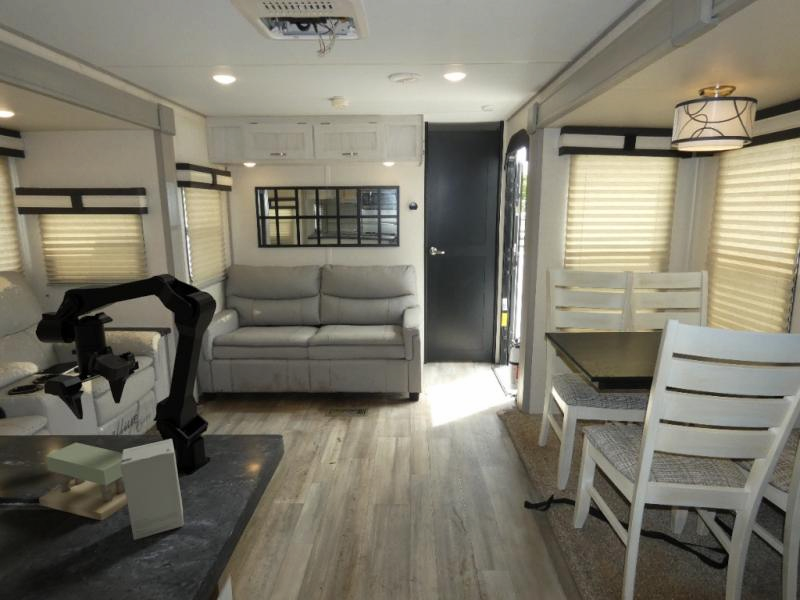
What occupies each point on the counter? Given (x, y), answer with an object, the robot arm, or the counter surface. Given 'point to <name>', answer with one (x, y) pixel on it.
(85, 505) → the peg stand
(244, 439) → the counter surface
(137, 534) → the skincare box
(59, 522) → the counter surface
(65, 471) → the plank
